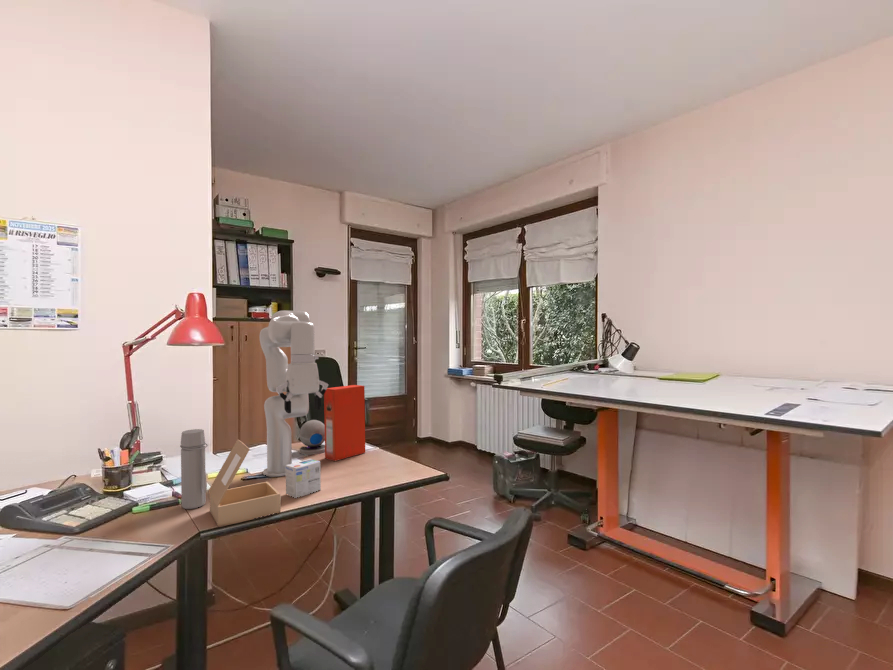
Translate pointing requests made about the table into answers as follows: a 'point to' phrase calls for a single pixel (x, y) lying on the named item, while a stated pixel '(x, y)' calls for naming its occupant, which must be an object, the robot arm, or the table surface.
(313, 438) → the webcam
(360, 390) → the file binder
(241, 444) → the lid
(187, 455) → the water bottle
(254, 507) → the cardboard tray
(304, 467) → the light bulb box
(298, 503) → the table surface
